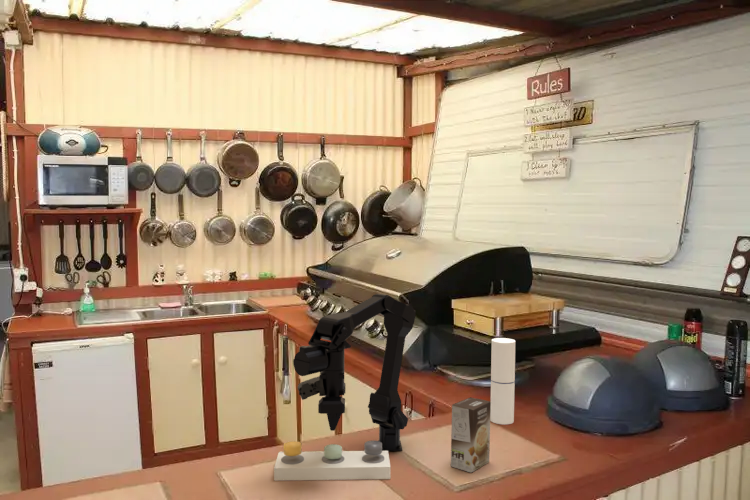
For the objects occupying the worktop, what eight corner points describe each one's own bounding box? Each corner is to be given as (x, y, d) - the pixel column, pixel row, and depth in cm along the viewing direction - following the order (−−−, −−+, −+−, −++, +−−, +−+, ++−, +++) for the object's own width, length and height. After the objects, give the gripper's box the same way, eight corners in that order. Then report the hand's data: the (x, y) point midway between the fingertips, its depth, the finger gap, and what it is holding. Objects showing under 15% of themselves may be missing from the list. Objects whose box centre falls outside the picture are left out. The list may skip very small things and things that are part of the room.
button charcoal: (364, 449, 156) (364, 440, 156) (381, 449, 157) (381, 440, 156) (364, 456, 152) (364, 447, 152) (382, 456, 152) (382, 447, 152)
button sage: (324, 453, 156) (324, 444, 156) (342, 453, 156) (342, 444, 156) (323, 460, 152) (323, 451, 151) (341, 460, 152) (341, 451, 152)
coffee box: (472, 473, 153) (473, 410, 152) (450, 466, 157) (450, 404, 156) (490, 462, 160) (491, 401, 159) (468, 455, 164) (469, 396, 163)
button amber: (284, 450, 156) (284, 441, 155) (302, 450, 156) (302, 441, 156) (282, 457, 151) (282, 448, 151) (300, 457, 151) (300, 448, 151)
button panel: (278, 463, 159) (278, 451, 158) (388, 461, 160) (388, 449, 159) (274, 480, 149) (273, 467, 148) (390, 479, 150) (390, 466, 150)
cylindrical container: (487, 422, 190) (488, 341, 188) (494, 415, 196) (495, 337, 194) (510, 425, 186) (511, 343, 184) (516, 418, 193) (518, 339, 191)
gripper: (302, 358, 161) (302, 417, 162) (296, 378, 143) (296, 444, 144) (345, 358, 162) (345, 417, 163) (344, 378, 143) (344, 444, 144)
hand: (332, 430), depth 153 cm, fingers closed
